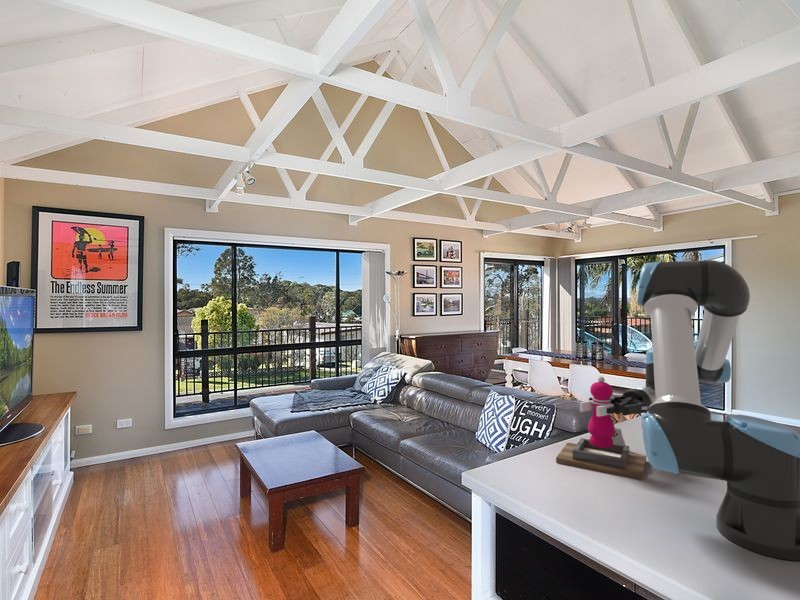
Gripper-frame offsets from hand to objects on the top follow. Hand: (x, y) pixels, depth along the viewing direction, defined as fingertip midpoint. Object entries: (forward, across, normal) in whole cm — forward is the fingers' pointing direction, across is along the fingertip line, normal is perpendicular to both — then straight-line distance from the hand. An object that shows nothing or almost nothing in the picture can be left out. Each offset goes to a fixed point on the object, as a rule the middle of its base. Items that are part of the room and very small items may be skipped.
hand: (589, 409), depth 123 cm
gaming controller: (-19, +8, -16) cm, 26 cm away
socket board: (-5, 0, -16) cm, 17 cm away
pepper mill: (-5, 0, -11) cm, 12 cm away
